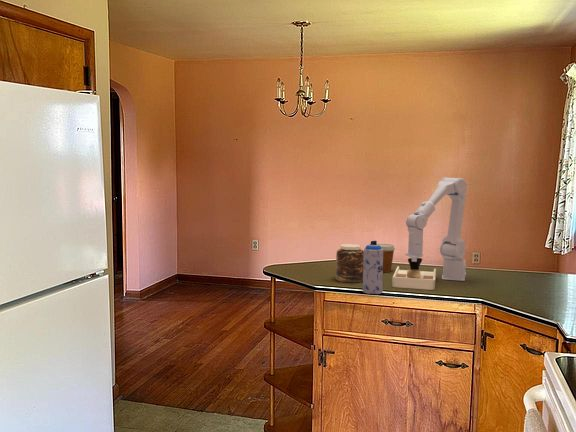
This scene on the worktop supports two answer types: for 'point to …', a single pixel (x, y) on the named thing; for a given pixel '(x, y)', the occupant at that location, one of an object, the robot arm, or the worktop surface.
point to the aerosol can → (373, 269)
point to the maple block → (413, 273)
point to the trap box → (414, 280)
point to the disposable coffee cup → (387, 256)
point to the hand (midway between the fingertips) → (414, 275)
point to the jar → (349, 263)
